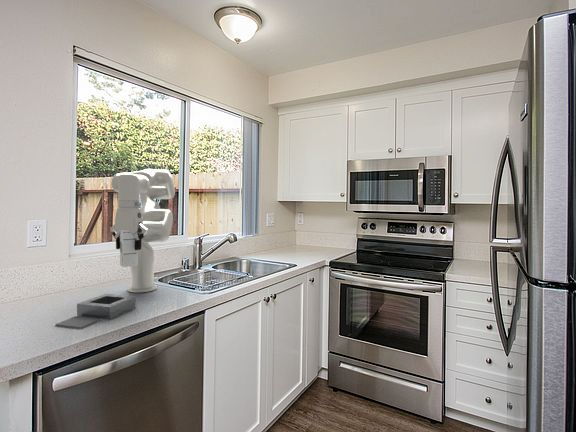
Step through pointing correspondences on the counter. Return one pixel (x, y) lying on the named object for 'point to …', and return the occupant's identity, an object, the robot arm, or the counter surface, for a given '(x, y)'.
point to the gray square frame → (106, 306)
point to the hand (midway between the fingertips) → (128, 249)
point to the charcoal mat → (77, 322)
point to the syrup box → (128, 249)
